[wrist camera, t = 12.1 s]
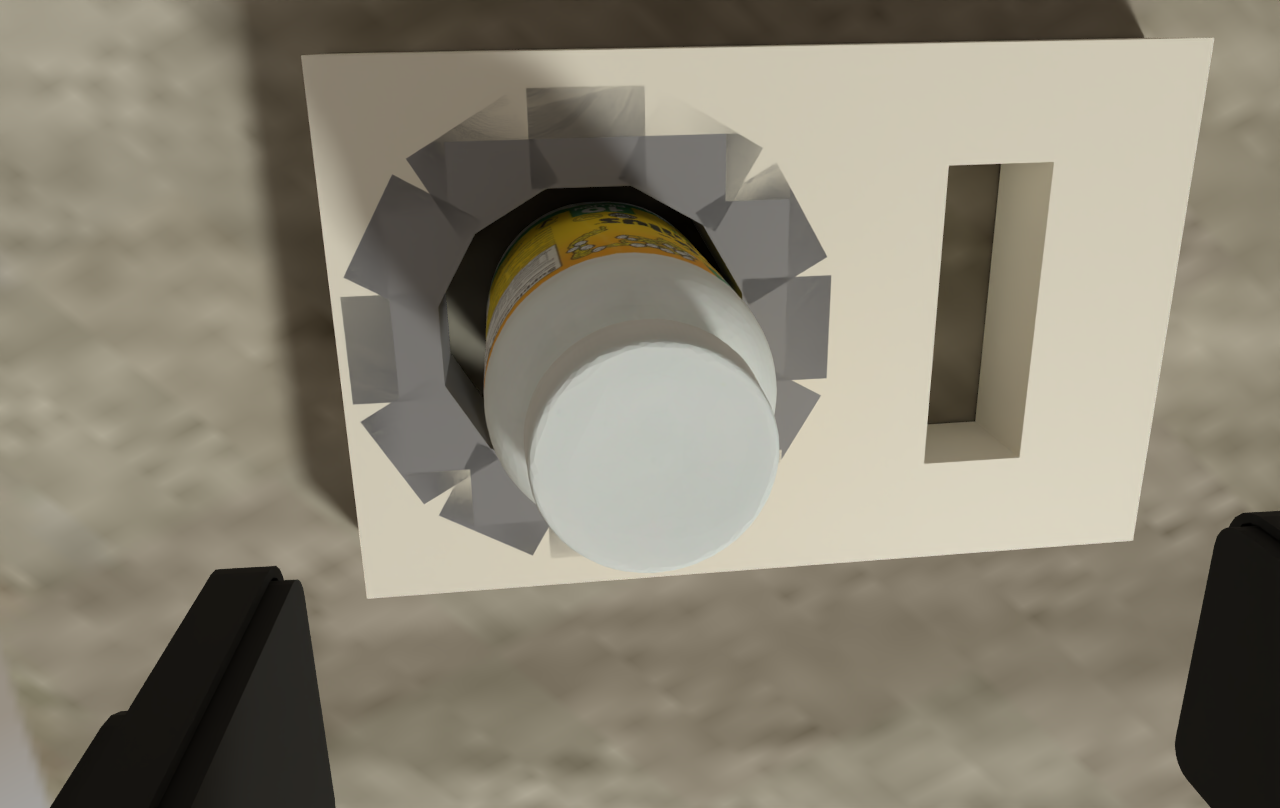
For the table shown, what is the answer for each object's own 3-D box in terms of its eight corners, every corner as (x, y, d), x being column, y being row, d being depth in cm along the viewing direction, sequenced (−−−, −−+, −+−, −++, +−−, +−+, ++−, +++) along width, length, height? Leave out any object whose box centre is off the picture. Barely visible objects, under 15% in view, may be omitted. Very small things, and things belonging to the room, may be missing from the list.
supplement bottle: (443, 331, 25) (407, 501, 16) (576, 148, 24) (620, 218, 15) (621, 450, 26) (681, 666, 17) (753, 284, 25) (890, 422, 16)
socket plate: (1146, 37, 24) (1214, 37, 22) (1080, 499, 28) (1132, 540, 26) (322, 53, 22) (300, 55, 20) (379, 548, 26) (367, 598, 24)
